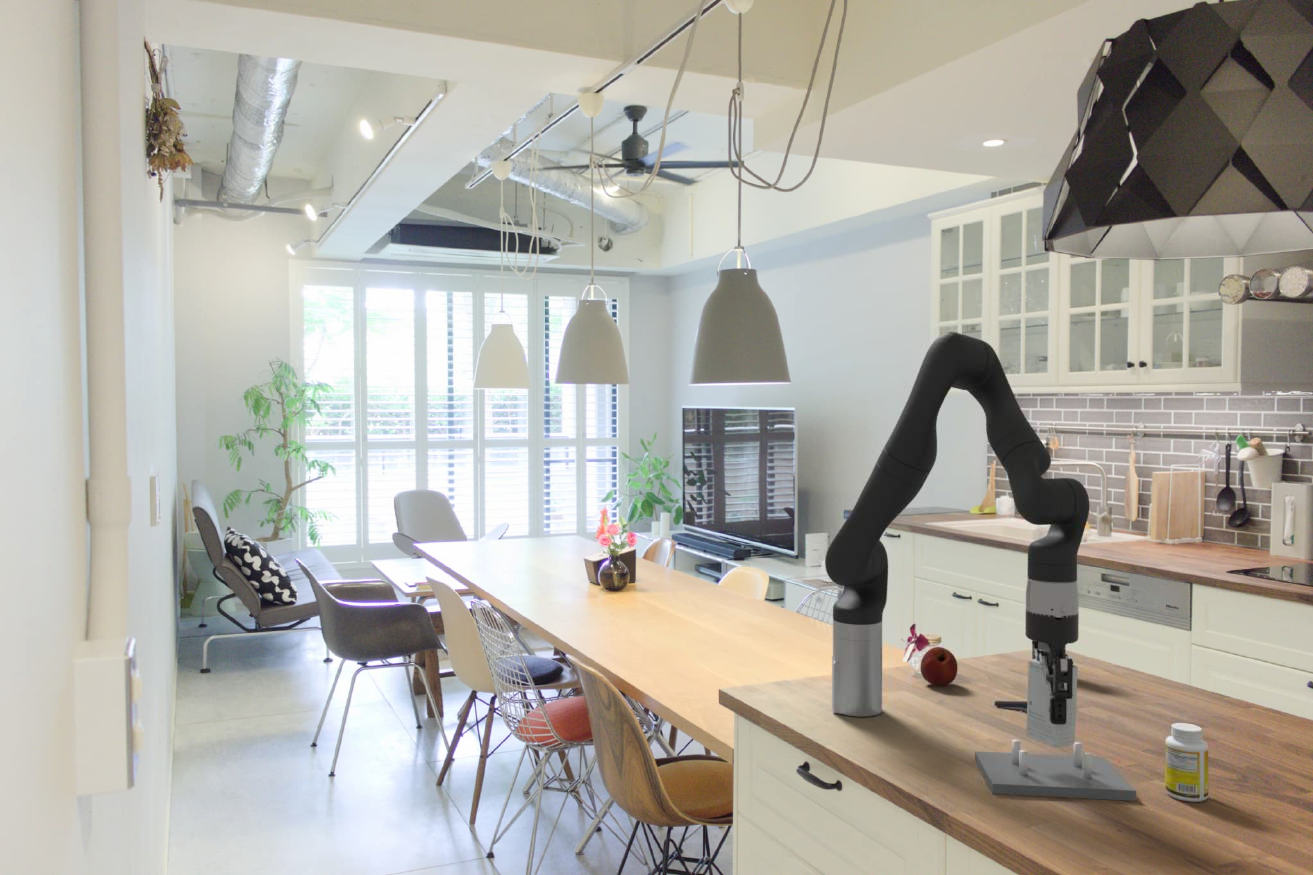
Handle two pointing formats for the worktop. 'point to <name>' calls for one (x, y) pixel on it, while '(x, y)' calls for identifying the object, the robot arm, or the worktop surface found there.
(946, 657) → the apple
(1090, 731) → the worktop surface
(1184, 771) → the supplement bottle
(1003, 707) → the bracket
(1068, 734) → the skincare box
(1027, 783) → the pin tray
